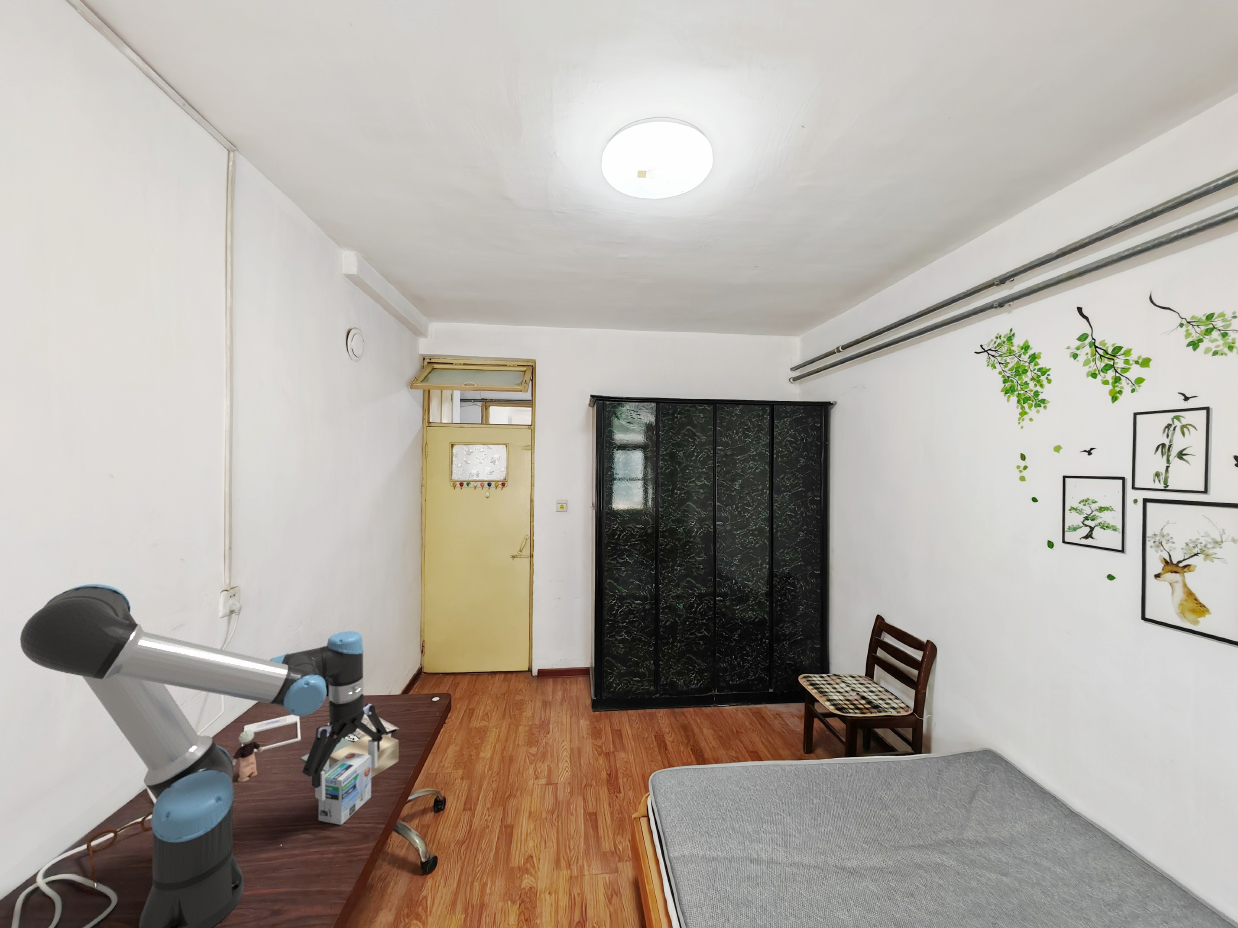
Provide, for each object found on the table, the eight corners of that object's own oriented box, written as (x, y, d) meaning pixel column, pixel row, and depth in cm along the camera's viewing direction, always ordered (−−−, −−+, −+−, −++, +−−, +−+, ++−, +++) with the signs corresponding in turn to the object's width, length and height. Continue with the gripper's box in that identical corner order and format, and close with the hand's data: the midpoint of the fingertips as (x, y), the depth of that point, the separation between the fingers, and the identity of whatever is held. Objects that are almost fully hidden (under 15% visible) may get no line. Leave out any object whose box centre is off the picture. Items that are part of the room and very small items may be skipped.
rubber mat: (330, 773, 136) (330, 772, 136) (300, 758, 143) (300, 757, 143) (370, 751, 147) (370, 750, 147) (341, 738, 153) (341, 737, 153)
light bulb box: (341, 825, 117) (341, 780, 117) (316, 821, 119) (317, 776, 119) (372, 795, 128) (372, 754, 128) (349, 791, 129) (349, 750, 129)
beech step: (352, 789, 130) (352, 766, 130) (329, 777, 135) (329, 755, 135) (398, 760, 142) (398, 740, 142) (375, 750, 147) (375, 730, 147)
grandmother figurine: (253, 767, 138) (253, 722, 138) (264, 769, 138) (265, 724, 137) (226, 785, 131) (226, 737, 131) (238, 788, 130) (238, 739, 130)
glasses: (167, 823, 118) (167, 802, 118) (179, 851, 110) (179, 829, 110) (86, 857, 108) (86, 834, 108) (92, 891, 100) (92, 866, 100)
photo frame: (299, 712, 167) (300, 737, 152) (299, 715, 167) (300, 741, 152) (244, 724, 159) (240, 753, 144) (244, 728, 159) (240, 757, 144)
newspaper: (325, 726, 161) (326, 718, 161) (362, 714, 171) (363, 707, 171) (361, 750, 148) (362, 741, 148) (399, 736, 158) (400, 728, 158)
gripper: (303, 725, 110) (304, 819, 111) (400, 679, 132) (401, 758, 133) (284, 716, 114) (285, 807, 114) (381, 673, 136) (382, 750, 136)
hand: (347, 781), depth 123 cm, fingers open, 13 cm apart
